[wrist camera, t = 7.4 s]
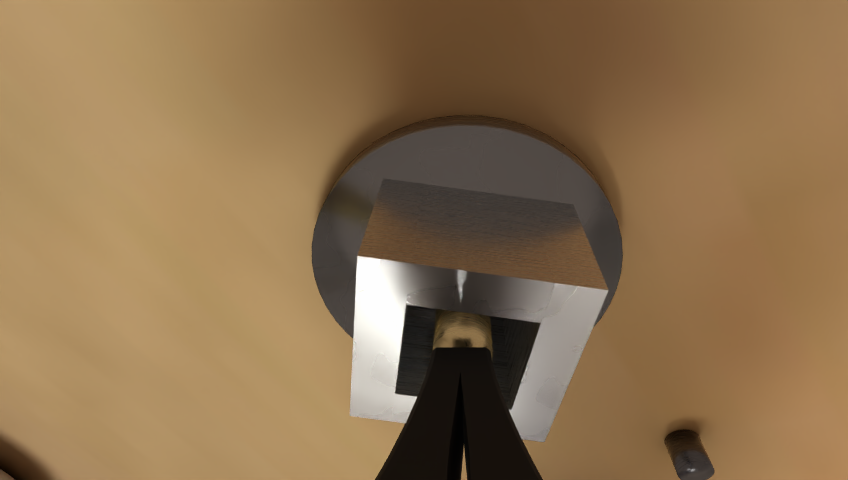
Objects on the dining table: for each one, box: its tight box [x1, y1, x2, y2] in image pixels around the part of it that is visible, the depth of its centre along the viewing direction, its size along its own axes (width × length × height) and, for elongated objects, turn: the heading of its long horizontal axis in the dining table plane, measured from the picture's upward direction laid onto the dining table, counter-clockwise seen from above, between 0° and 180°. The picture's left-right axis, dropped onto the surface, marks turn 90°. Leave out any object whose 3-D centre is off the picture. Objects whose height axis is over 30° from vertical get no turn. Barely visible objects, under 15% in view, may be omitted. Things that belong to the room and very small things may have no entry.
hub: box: [312, 116, 623, 358], centre depth 14 cm, size 10×10×4 cm
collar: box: [350, 178, 608, 442], centre depth 14 cm, size 6×6×4 cm
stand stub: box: [665, 430, 714, 480], centre depth 20 cm, size 1×1×2 cm
